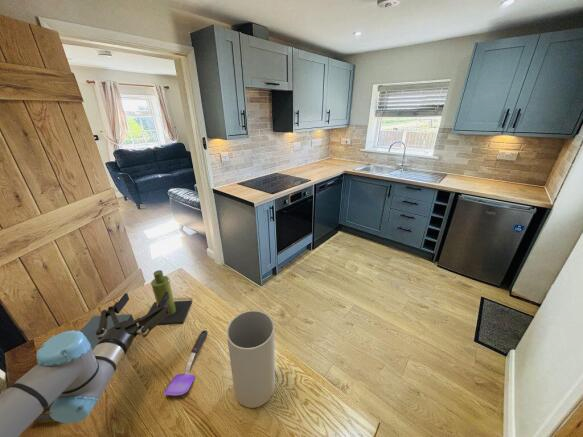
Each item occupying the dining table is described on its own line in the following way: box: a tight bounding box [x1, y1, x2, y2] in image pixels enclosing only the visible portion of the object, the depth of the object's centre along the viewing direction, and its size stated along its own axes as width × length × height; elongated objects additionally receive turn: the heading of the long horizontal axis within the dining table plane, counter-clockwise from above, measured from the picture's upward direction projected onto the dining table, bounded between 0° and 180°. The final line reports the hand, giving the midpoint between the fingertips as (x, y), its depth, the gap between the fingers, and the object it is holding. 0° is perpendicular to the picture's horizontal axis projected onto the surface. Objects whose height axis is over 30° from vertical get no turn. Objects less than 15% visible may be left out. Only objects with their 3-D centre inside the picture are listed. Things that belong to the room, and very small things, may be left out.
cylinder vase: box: [226, 310, 276, 409], centre depth 69 cm, size 12×12×25 cm
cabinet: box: [79, 313, 134, 350], centre depth 83 cm, size 16×14×8 cm
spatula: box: [163, 329, 208, 396], centre depth 80 cm, size 24×7×2 cm, turn 177°
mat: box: [147, 300, 193, 326], centre depth 99 cm, size 16×12×1 cm
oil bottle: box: [150, 269, 176, 317], centre depth 95 cm, size 6×6×20 cm
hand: (147, 295), depth 83 cm, fingers open, 13 cm apart
